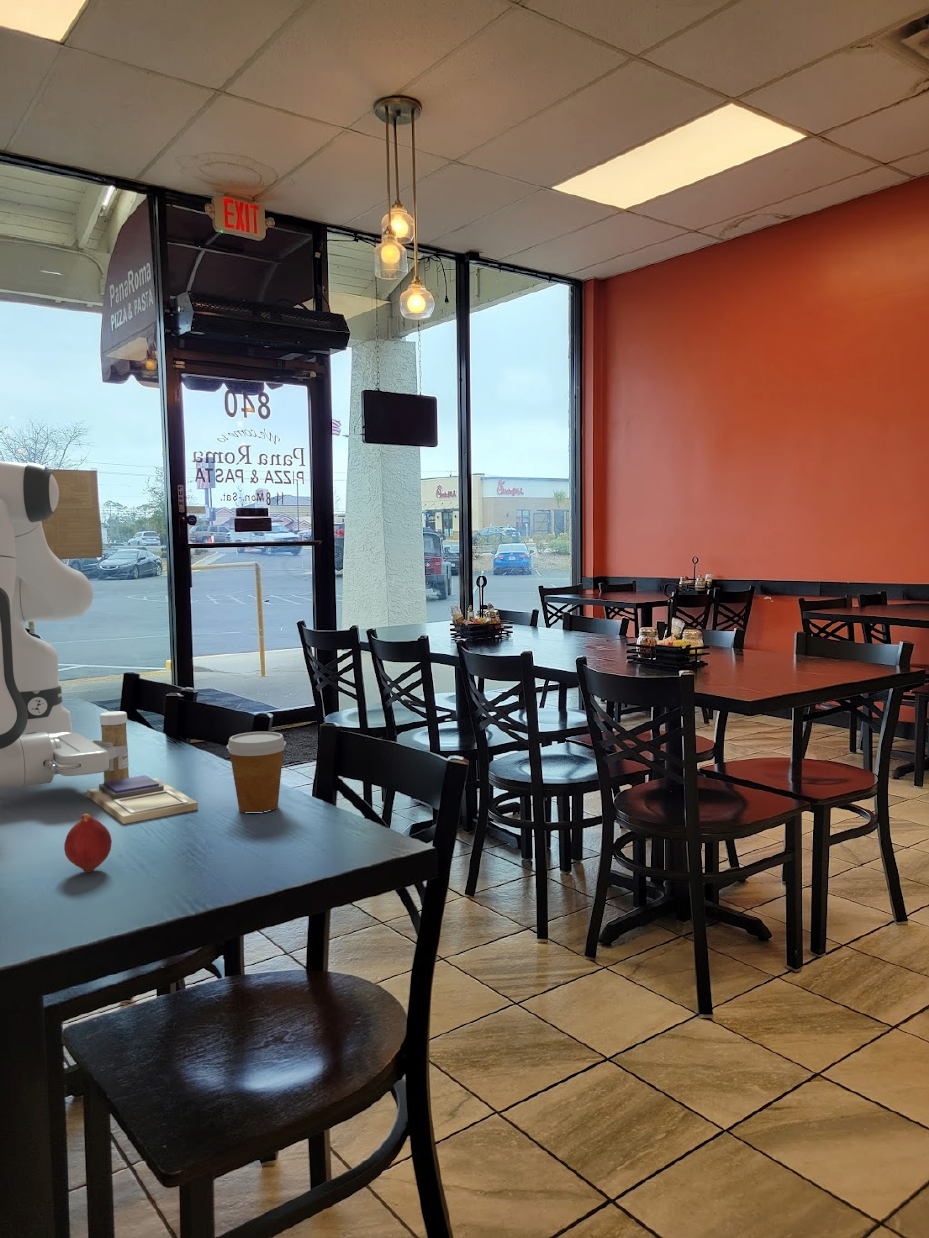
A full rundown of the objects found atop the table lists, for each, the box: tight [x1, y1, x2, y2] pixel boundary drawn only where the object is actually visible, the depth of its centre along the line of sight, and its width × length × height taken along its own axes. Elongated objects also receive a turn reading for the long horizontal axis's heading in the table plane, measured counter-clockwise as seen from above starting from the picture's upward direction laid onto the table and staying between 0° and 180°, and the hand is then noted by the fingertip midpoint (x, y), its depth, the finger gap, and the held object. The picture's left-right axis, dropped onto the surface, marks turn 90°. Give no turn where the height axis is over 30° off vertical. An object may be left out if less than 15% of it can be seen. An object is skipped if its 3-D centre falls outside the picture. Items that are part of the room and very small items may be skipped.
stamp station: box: [86, 774, 199, 825], centre depth 152 cm, size 20×12×2 cm, turn 38°
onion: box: [63, 813, 113, 873], centre depth 120 cm, size 6×6×8 cm
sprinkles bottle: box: [99, 710, 130, 783], centre depth 162 cm, size 5×5×13 cm
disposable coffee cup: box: [226, 731, 287, 813], centre depth 147 cm, size 10×10×12 cm
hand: (119, 746), depth 162 cm, fingers closed on sprinkles bottle, 4 cm apart
